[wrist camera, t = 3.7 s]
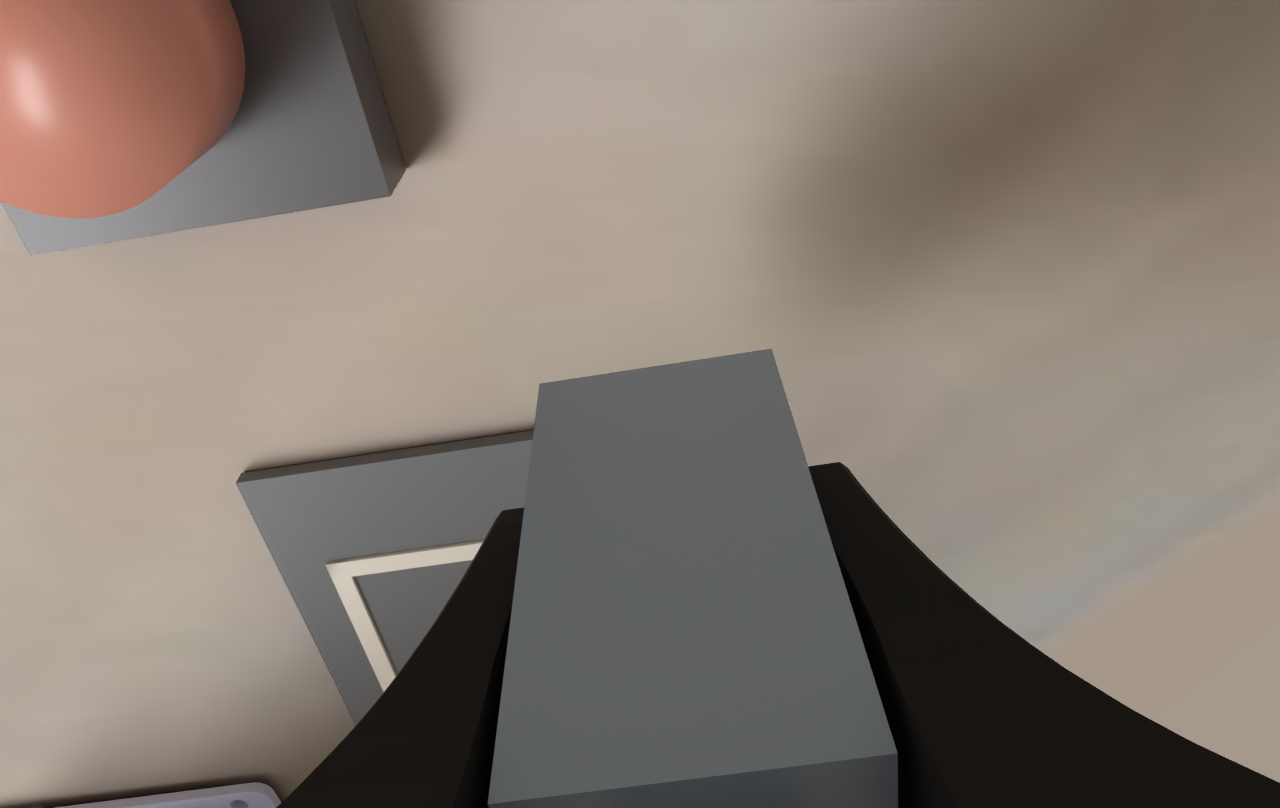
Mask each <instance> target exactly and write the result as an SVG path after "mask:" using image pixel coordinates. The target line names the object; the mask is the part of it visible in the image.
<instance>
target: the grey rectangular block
mask: <svg viewBox="0 0 1280 808" xmlns="http://www.w3.org/2000/svg"><path fill="white" fill-rule="evenodd" d="M488 806H489V808H898V753H897V750H896V747H895V743H894V740H893V737H892V734H891V731H890V727H889V724H888V721H887V718H886V715H885V711H884V708H883V705H882V702H881V699H880V695H879V692H878V689H877V686H876V683H875V679H874V676H873V673H872V670H871V667H870V663H869V660H868V657H867V654H866V651H865V647H864V644H863V641H862V638H861V635H860V631H859V628H858V625H857V622H856V619H855V615H854V612H853V609H852V606H851V603H850V599H849V596H848V593H847V590H846V587H845V583H844V580H843V577H842V574H841V570H840V567H839V564H838V561H837V558H836V554H835V551H834V548H833V545H832V542H831V538H830V535H829V532H828V529H827V526H826V522H825V519H824V516H823V513H822V510H821V506H820V503H819V500H818V497H817V494H816V490H815V487H814V484H813V481H812V478H811V474H810V471H809V468H808V465H807V462H806V458H805V455H804V452H803V449H802V446H801V442H800V439H799V436H798V433H797V430H796V426H795V423H794V420H793V417H792V414H791V410H790V407H789V404H788V401H787V398H786V394H785V391H784V388H783V385H782V381H781V378H780V375H779V372H778V369H777V365H776V362H775V359H774V356H773V353H772V349H767V350H760V351H754V352H747V353H741V354H734V355H727V356H721V357H714V358H707V359H701V360H694V361H688V362H681V363H674V364H668V365H661V366H654V367H648V368H641V369H635V370H628V371H621V372H615V373H608V374H601V375H595V376H588V377H582V378H575V379H568V380H562V381H555V382H549V383H542V384H540V385H539V393H538V401H537V409H536V417H535V425H534V434H533V442H532V450H531V458H530V466H529V474H528V482H527V490H526V498H525V506H524V514H523V522H522V531H521V539H520V547H519V555H518V563H517V571H516V579H515V587H514V595H513V603H512V611H511V620H510V628H509V636H508V644H507V652H506V660H505V668H504V676H503V684H502V692H501V700H500V708H499V717H498V725H497V733H496V741H495V749H494V757H493V765H492V773H491V781H490V789H489V797H488Z"/></svg>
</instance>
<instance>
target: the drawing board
mask: <svg viewBox="0 0 1280 808" xmlns="http://www.w3.org/2000/svg"><path fill="white" fill-rule="evenodd" d="M533 434H534V430H531V431H524V432H517V433H510V434H503V435H497V436H490V437H483V438H476V439H469V440H463V441H456V442H449V443H442V444H435V445H429V446H422V447H415V448H408V449H401V450H395V451H388V452H381V453H374V454H367V455H361V456H354V457H347V458H340V459H333V460H327V461H320V462H313V463H306V464H299V465H293V466H286V467H279V468H272V469H265V470H259V471H252V472H245V473H241V475H240V477H239V478H238V480H237V482H236V485H237V487H238V489H239V491H240V493H241V495H242V497H243V499H244V501H245V503H246V505H247V507H248V509H249V511H250V513H251V515H252V517H253V519H254V521H255V523H256V525H257V527H258V529H259V531H260V533H261V535H262V537H263V539H264V541H265V543H266V545H267V547H268V549H269V551H270V553H271V555H272V557H273V559H274V561H275V563H276V565H277V567H278V569H279V571H280V573H281V575H282V577H283V579H284V581H285V583H286V585H287V587H288V589H289V591H290V593H291V595H292V597H293V599H294V601H295V603H296V605H297V607H298V609H299V611H300V613H301V615H302V617H303V619H304V621H305V623H306V626H307V628H308V630H309V632H310V634H311V636H312V638H313V640H314V642H315V644H316V646H317V648H318V650H319V652H320V654H321V656H322V658H323V660H324V662H325V664H326V666H327V668H328V670H329V672H330V674H331V676H332V678H333V680H334V682H335V684H336V686H337V688H338V690H339V692H340V694H341V696H342V698H343V700H344V702H345V704H346V706H347V708H348V710H349V712H350V714H351V716H352V718H353V720H354V722H355V724H356V725H357V724H358V723H359V722H360V720H361V719H362V718H363V717H364V716H365V714H366V713H367V712H368V711H369V710H370V709H371V707H372V706H373V705H374V704H375V703H376V701H377V700H378V699H379V698H380V696H381V695H382V694H383V693H384V691H385V690H386V689H387V687H388V686H389V685H390V684H391V682H392V681H393V680H394V678H395V677H396V676H397V675H398V673H399V672H400V671H401V669H402V668H403V666H404V665H405V664H406V662H407V661H408V659H409V658H410V656H411V655H412V654H413V652H414V651H415V649H416V648H417V647H418V645H419V644H420V642H421V641H422V639H423V638H424V637H425V635H426V634H427V632H428V631H429V630H430V628H431V627H432V625H433V624H434V622H435V621H436V619H437V618H438V616H439V614H440V613H441V611H442V610H443V608H444V606H445V605H446V603H447V602H448V600H449V598H450V597H451V595H452V594H453V592H454V591H455V589H456V587H457V586H458V584H459V583H460V581H461V579H462V578H463V576H464V574H465V572H466V571H467V569H468V567H469V566H470V564H471V562H472V561H473V559H474V557H475V555H476V554H477V552H478V550H479V548H480V547H481V545H482V543H483V541H484V539H485V538H486V536H487V534H488V532H489V530H490V528H491V527H492V525H493V523H494V521H495V519H496V518H497V516H498V515H499V514H500V513H501V511H502V510H509V509H516V508H523V507H524V506H525V498H526V490H527V482H528V474H529V466H530V458H531V450H532V442H533Z"/></svg>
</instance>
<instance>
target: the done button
mask: <svg viewBox="0 0 1280 808" xmlns="http://www.w3.org/2000/svg"><path fill="white" fill-rule="evenodd" d="M244 82H245V53H244V47H243V41H242V36H241V31H240V28H239V25H238V21H237V18H236V15H235V12H234V10H233V8H232V5H231V3H230V1H229V0H0V201H2V202H4V203H6V204H9V205H12V206H15V207H17V208H20V209H23V210H26V211H30V212H34V213H38V214H42V215H46V216H53V217H60V218H78V219H86V218H96V217H104V216H108V215H112V214H117V213H121V212H123V211H126V210H128V209H130V208H133V207H135V206H137V205H139V204H141V203H142V202H144V201H146V200H147V199H149V198H151V197H152V196H153V195H154V194H156V193H157V192H158V191H159V190H161V189H162V188H163V187H164V186H165V185H167V184H168V183H169V182H170V181H172V180H173V179H174V178H175V177H177V176H178V175H179V174H180V173H182V172H183V171H184V170H185V169H186V168H188V167H189V166H190V165H191V164H193V163H194V162H195V161H196V160H198V159H199V158H200V157H201V156H202V155H204V154H205V153H206V152H207V151H208V150H210V149H211V148H212V147H213V146H214V145H216V144H217V143H218V141H219V140H220V139H221V138H222V137H223V135H224V134H225V133H226V132H227V130H228V129H229V127H230V125H231V123H232V122H233V120H234V118H235V116H236V113H237V111H238V108H239V106H240V103H241V98H242V94H243V90H244Z"/></svg>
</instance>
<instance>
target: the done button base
mask: <svg viewBox="0 0 1280 808" xmlns="http://www.w3.org/2000/svg"><path fill="white" fill-rule="evenodd" d="M229 1H230V3H231V5H232V8H233V10H234V12H235V15H236V18H237V21H238V25H239V28H240V31H241V36H242V41H243V47H244V53H245V82H244V90H243V94H242V98H241V103H240V106H239V108H238V111H237V113H236V116H235V118H234V120H233V122H232V123H231V125H230V127H229V129H228V130H227V132H226V133H225V134H224V135H223V137H222V138H221V139H220V140H219V141H218V143H217V144H216V145H214V146H213V147H212V148H211V149H210V150H208V151H207V152H206V153H205V154H204V155H202V156H201V157H200V158H199V159H198V160H196V161H195V162H194V163H193V164H191V165H190V166H189V167H188V168H186V169H185V170H184V171H183V172H182V173H180V174H179V175H178V176H177V177H175V178H174V179H173V180H172V181H170V182H169V183H168V184H167V185H165V186H164V187H163V188H162V189H161V190H159V191H158V192H157V193H156V194H154V195H153V196H152V197H151V198H149V199H147V200H146V201H144V202H142V203H141V204H139V205H137V206H135V207H133V208H130V209H128V210H126V211H123V212H121V213H117V214H112V215H108V216H104V217H96V218H86V219H78V218H60V217H53V216H46V215H42V214H38V213H34V212H30V211H26V210H23V209H20V208H17V207H15V206H12V205H9V204H6V203H4V202H2V201H0V202H1V204H2V206H3V207H4V209H5V211H6V213H7V215H8V216H9V218H10V220H11V222H12V224H13V225H14V227H15V229H16V231H17V233H18V234H19V236H20V238H21V240H22V242H23V243H24V245H25V247H26V249H27V251H28V252H29V254H30V255H36V254H42V253H48V252H54V251H60V250H66V249H72V248H78V247H84V246H90V245H96V244H102V243H109V242H115V241H121V240H127V239H133V238H139V237H145V236H151V235H157V234H163V233H169V232H176V231H182V230H188V229H194V228H200V227H206V226H212V225H218V224H224V223H230V222H236V221H243V220H249V219H255V218H261V217H267V216H273V215H279V214H285V213H291V212H297V211H303V210H310V209H316V208H322V207H328V206H334V205H340V204H346V203H352V202H358V201H364V200H370V199H377V198H383V197H389V196H391V194H392V193H393V191H394V189H395V188H396V186H397V184H398V183H399V181H400V179H401V177H402V176H403V174H404V172H405V171H406V169H405V166H404V163H403V159H402V156H401V153H400V150H399V146H398V143H397V140H396V136H395V133H394V130H393V126H392V123H391V120H390V116H389V113H388V110H387V106H386V103H385V100H384V96H383V93H382V90H381V86H380V83H379V80H378V76H377V73H376V70H375V66H374V63H373V60H372V57H371V53H370V50H369V47H368V43H367V40H366V37H365V33H364V30H363V27H362V23H361V20H360V17H359V13H358V10H357V7H356V3H355V0H229Z"/></svg>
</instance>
